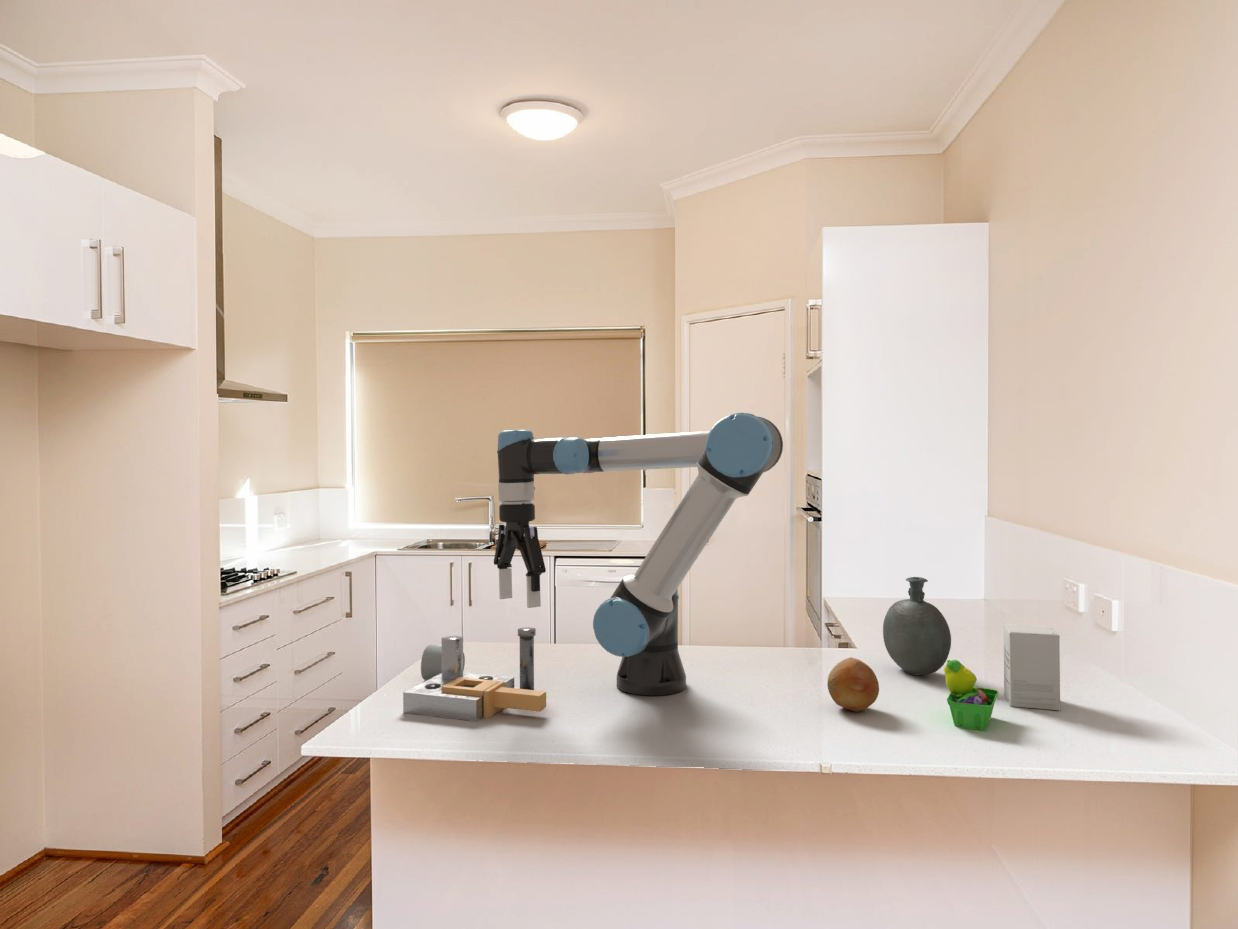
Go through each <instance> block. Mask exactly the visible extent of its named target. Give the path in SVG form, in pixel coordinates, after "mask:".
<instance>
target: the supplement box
mask: <svg viewBox="0 0 1238 929" xmlns="http://www.w3.org/2000/svg"><path fill="white" fill-rule="evenodd" d="M1060 637H1061V636H1060V634H1058V633H1057V632H1056V630H1054V628H1053V627H1052V626H1051V625H1050V626H1049V625H1038V624H1037V625H1036V624H1017V623H1016V624H1015V623H1003V694H1004V696H1005V698H1006V700H1007V702H1008V704H1009V705H1010V707H1013V708H1015V707H1016V708H1029V709H1038V710H1052V711H1061V672H1060V671H1061V668H1060V667H1061V666H1060V662H1061V656H1060V653H1061V651H1060V643H1061V642H1060V640H1061V639H1060Z"/></svg>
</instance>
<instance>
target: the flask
mask: <svg viewBox="0 0 1238 929" xmlns="http://www.w3.org/2000/svg"><path fill="white" fill-rule="evenodd" d="M905 581H906V582H909V583H908V584H909V587H908V591H907V593H908V596H909V598H907V599H899V600H898V601H895V602H894V603H892V605H890V606H889V608H888V610H887V612H886V614H885V616H884V619H883V622H882V623H883V625H882V636H883V637H882V638H883V643H884V646H885V649H886V651H887V653H888V655H889V657H890V658H891V659H892V660H893V662H894V663H895V664H896V665H897V666H898V667H899V668H901V669H902V670H903V671H904V672H907V673H909V674H911V675H914V676H928V675H931V674H934V673H936V672H938V671H939V670H940V669H942V667H943V666H945V665H946V663H947V661H948V658H949V654H950V650H951V648H952V634H951V629H950V626H949V624H948V621H947V619H946V617H945V616H944V615H943V613H942V612H941V611H940V610H939V609H938V607H936V606H935V605H934V604H932V603H929V602H927V601H925V600H924V599H925V595H926V594H925V592H924V590H923V588H924V586H925V583H928V582H929V580H928V579H926V578H924V577H920V576H913V577H912V576H910V577H908V578H906V579H905Z"/></svg>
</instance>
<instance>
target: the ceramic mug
mask: <svg viewBox="0 0 1238 929" xmlns="http://www.w3.org/2000/svg"><path fill="white" fill-rule="evenodd" d="M465 659H466V656H465V653H464V651H463V671H465V664H466V660H465ZM420 673H421V675H420V676H421V678H422V679H423V680H424V681H427V680H429V679H431V678H433V677H435V676H437V675H439V674H441V673H442V645H436V644H435V645H433V644H428V645H426V647H425V648H424V650H423V652H422V656H421V662H420Z"/></svg>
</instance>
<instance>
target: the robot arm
mask: <svg viewBox="0 0 1238 929" xmlns="http://www.w3.org/2000/svg"><path fill="white" fill-rule="evenodd" d="M783 450H784V441H783V437H782V433H781V432H780V430H779V428H778V427H777V426H776V425H775V424H774V423H773V422H772V421H771V420H769V419H766V418H764V417H761V416H757V415H755V414H753V413H750V412H749V413H748V412H735V413H731V414H729V415H727V416H725V417H722V418H721V419H720V420H718V421H717V422H716V423H715V424H714V425H713V426H712V428H711V429H710V430H698V431H685V432H684V431H683V432H669V433H656V434H655V433H654V434H653V433H652V434H645V435H644V434H642V435H641V434H640V435H627V436H614V437H611V436H610V437H593V438H582V437H573V436H564V437H549V438H535V437H534V434H533V431H531V430H529V429H515V430H514V429H511V430H510V429H508V430H507V429H506V430H502V431H500V432H499V433H498V435H497V450H496V454H497V466H498V468H497V470H498V483H497V485H498V486H497V487H498V488H497V489H498V502H500V505H499V506H498V507H499V508H498V511H499V512H498V516H499V521H500V522H502V524H501V523H499V524H498V536H497V540H496V542H497V543H496V547H495V553H494V558H493V565H495V566H497V569H498V588H499V589H498V590H499V592H498V593H499V596H498V598H499V600H505V599H512V598H513V577H512V576H513V575H512V568H513V566H512V560H513V557H514V555H515V552H516V550H518V551H519V552H520V555H521V558H522V559H523V563H524V566H525V568H526V571H527V572H526V573H525V576H526V577H525V578H526V607H527V608H528V609H532V608H538V607H540V608H541V607H542V606H541V605H542V602H541V575H543V573H544V574H545V573H546V572H547V570H546V565H545V561H544V557H543V556H544V555H543V553H542V552H543V551H542V549H541V545H540V544H541V543H540V540H539V534H538V527H537V526H530V522H532V521H533V522H534V521H535V519H536V506H535V504H534V503H533V501H534V500H535V491H536V487H535V483H534V482H535V475H574V474H592V473H603V472H604V473H605V472H624V471H641V470H642V471H643V470H662V469H664V470H665V469H667V470H668V469H686V468H688V469H689V468H697V471H698V472H697V476H696V477H695V479H694V481H693V482H692V484H691V486H690V487H689V488H688V490H687V492H685V494H684V496H683V498H682V499H681V501H680V502H679V504H678V505H677V507H676V509H675V511H674V512H673V513H672V515H671V517H670V518H669V520H668V521H667V523H666V524H665V526H664V527H663V529H662V530H661V532H660V534H659V536H658V537H657V539H656V540H655V542H654V544H653V545H652V546H651V548H650V549H649V551H648V552H647V554H646V556H645V557H644V559H643V560H642V562H641V563H640V565H639V567H638V568H637V570H636V571H635V573H631V574H626V575H624V576H623V577H622V579H621V581H620V582H619V583H618V585H617V587H616V588H615V590H614V592H613V593H612V595H611V596H610V597H609V598H608V599H606V600H603V602H602V603H601V604H599V606H598V608H597V609H596V610H595V612H594V615H593V620H592V628H593V631H594V636H595V639H596V640H597V642H598V643H599V645H600V646H601V648H603V649H604V650H605V651H606V652H607V653H609V654H610V655H612V656H616V657H620V658H621V660H620V664H619V666H618V669H617V673H616V687H617V688H618V689H619V690H621V691H622V692H626V693H628V694H632V695H637V696H638V695H639V696H666V695H672V694H673V695H674V694H676V693H679V692H682V691H683V690H685V689H686V687H687V675H686V672H685V669H684V668H685V667H684V665H683V662H682V659H681V655H680V653H679V599H680V598H679V596H680V595H679V593H678V591H679V590H678V588H679V586H680V585H681V583H682V582H683V580H684V579H685V578H686V577H687V574H688V573H689V571H690V570H691V568H692V567H693V565H694V564H695V562H696V560H697V559H698V557H699V556H700V554H701V553H702V552H703V550H704V549H705V547H706V546H707V545H708V543H709V541H710V540H711V538H712V536H713V534H714V533H715V532H716V530H717V529H718V528H719V525H720V524H721V522H722V521H723V519H724V518H725V516H726V515H727V514H728V512H729V510H730V509H731V508H732V506H733V504H734V503H735V501H736V500H737V499H738V498H743V497H747V496H749V495H750V493H751V492H752V490H753V489H754V487H755V486H756V484H757V482H759V479H760V478H761V476H763V474H764V473H766V472H768V471H770V470H771V469H773V468H775V466H776V465H777V463H778V462H779V461H780V459H781V457H782V454H783Z"/></svg>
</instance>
